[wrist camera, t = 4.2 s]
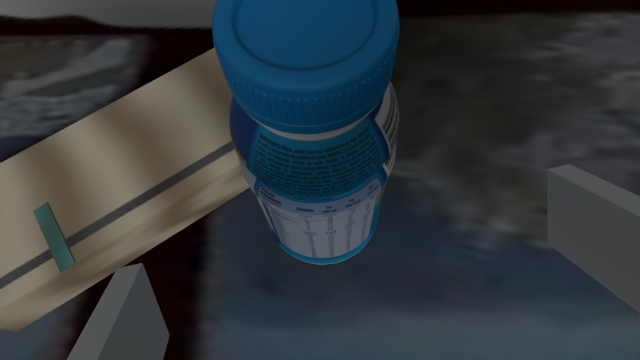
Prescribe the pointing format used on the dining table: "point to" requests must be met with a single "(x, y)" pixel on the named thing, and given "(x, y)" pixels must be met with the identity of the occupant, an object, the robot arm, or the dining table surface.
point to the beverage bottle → (312, 115)
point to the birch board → (113, 188)
